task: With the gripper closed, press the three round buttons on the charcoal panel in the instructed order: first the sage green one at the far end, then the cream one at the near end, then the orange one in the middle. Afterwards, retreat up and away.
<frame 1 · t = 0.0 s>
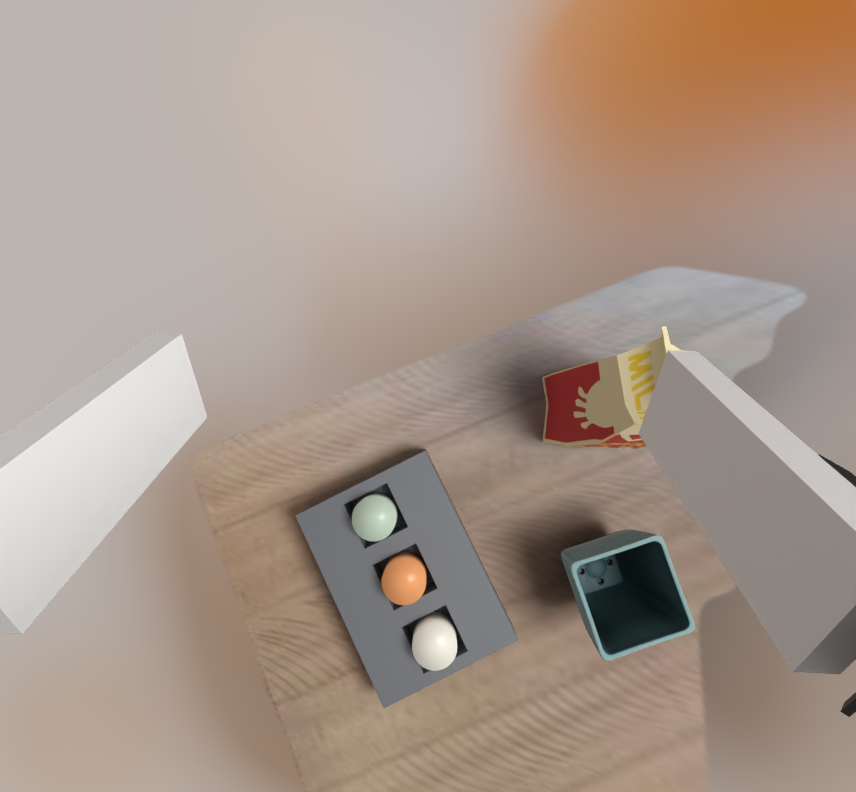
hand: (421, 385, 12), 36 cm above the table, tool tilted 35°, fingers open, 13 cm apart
sage button: (375, 516, 43), point 4 cm above the table, slide at 0.0 cm
cream button: (434, 640, 42), point 4 cm above the table, slide at 0.0 cm
flower pot: (594, 564, 46), on the table
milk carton: (582, 405, 48), on the table
orange button: (404, 577, 43), point 4 cm above the table, slide at 0.0 cm
button panel: (407, 565, 46), on the table
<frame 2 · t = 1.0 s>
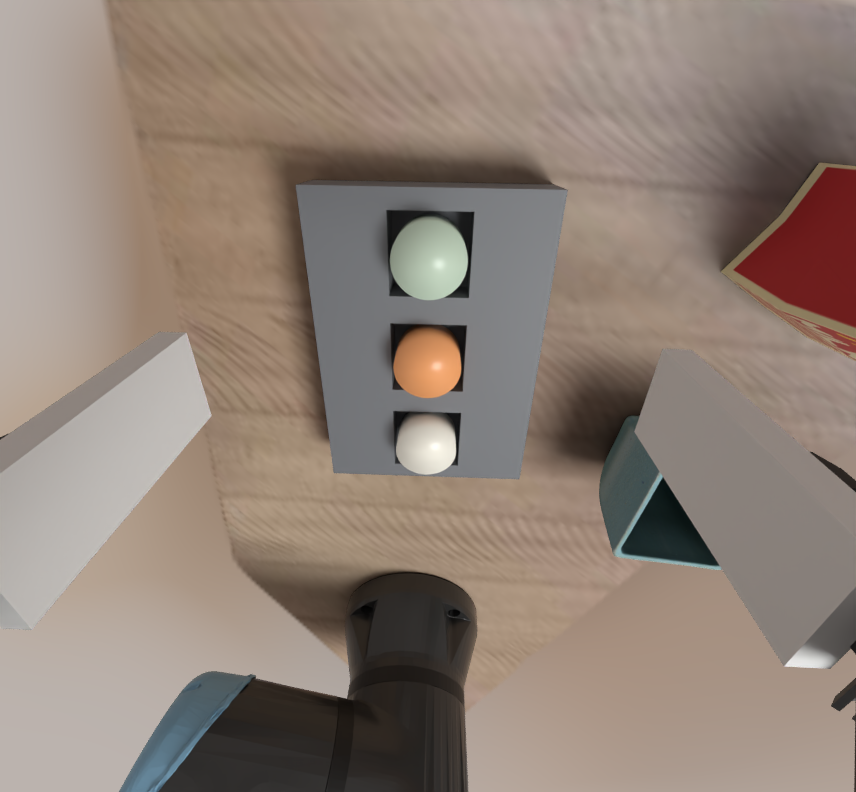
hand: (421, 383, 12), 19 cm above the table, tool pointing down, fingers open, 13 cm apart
sage button: (429, 257, 25), point 4 cm above the table, slide at 0.0 cm
cream button: (426, 440, 32), point 4 cm above the table, slide at 0.0 cm
flower pot: (643, 440, 36), on the table
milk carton: (819, 248, 28), on the table
orange button: (427, 360, 29), point 4 cm above the table, slide at 0.0 cm
button panel: (429, 338, 32), on the table
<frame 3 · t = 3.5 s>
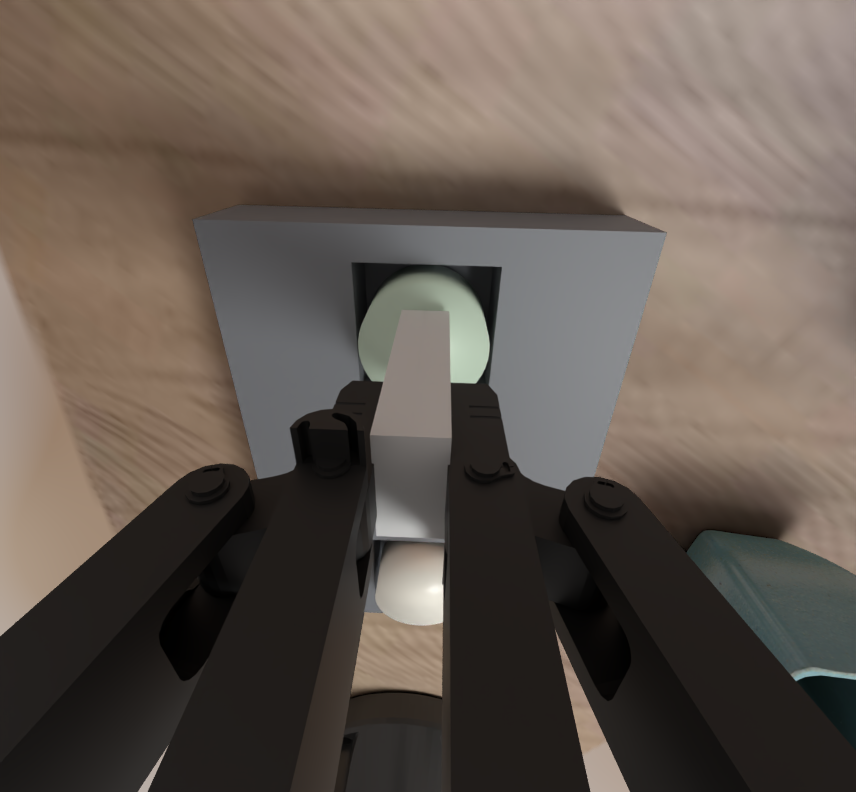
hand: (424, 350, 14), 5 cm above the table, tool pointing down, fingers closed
sage button: (425, 334, 15), point 3 cm above the table, slide at 0.2 cm, touching gripper
cream button: (420, 577, 22), point 4 cm above the table, slide at 0.0 cm
flower pot: (719, 556, 26), on the table
button panel: (425, 430, 22), on the table
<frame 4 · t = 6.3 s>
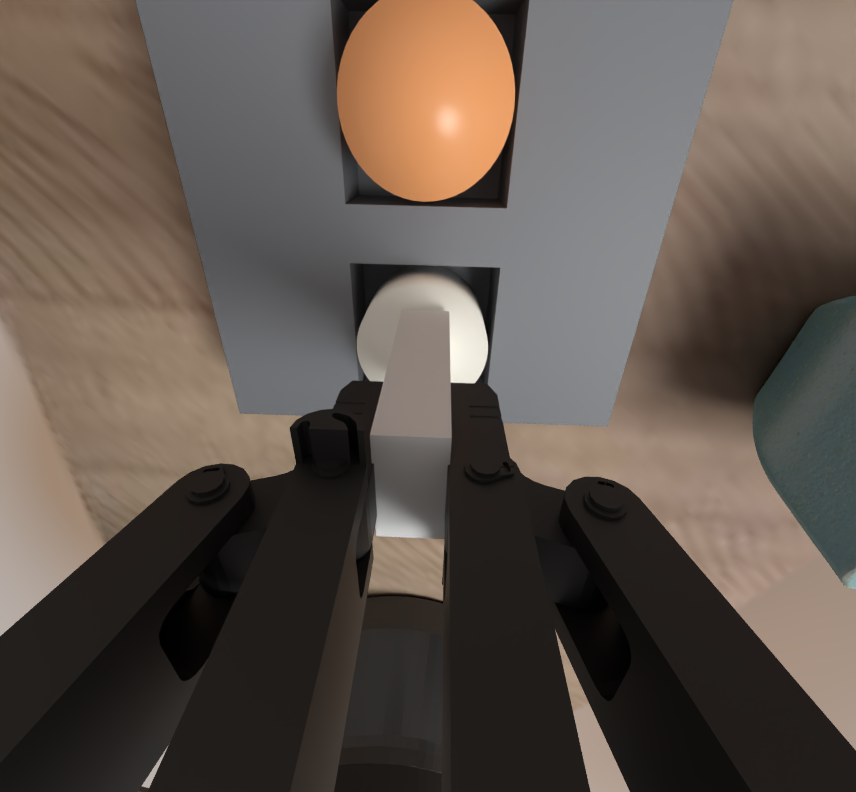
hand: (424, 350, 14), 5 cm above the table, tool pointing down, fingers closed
cream button: (423, 335, 15), point 4 cm above the table, slide at 0.2 cm, touching gripper
flower pot: (830, 360, 19), on the table
orange button: (427, 108, 12), point 4 cm above the table, slide at 0.0 cm
button panel: (430, 115, 15), on the table
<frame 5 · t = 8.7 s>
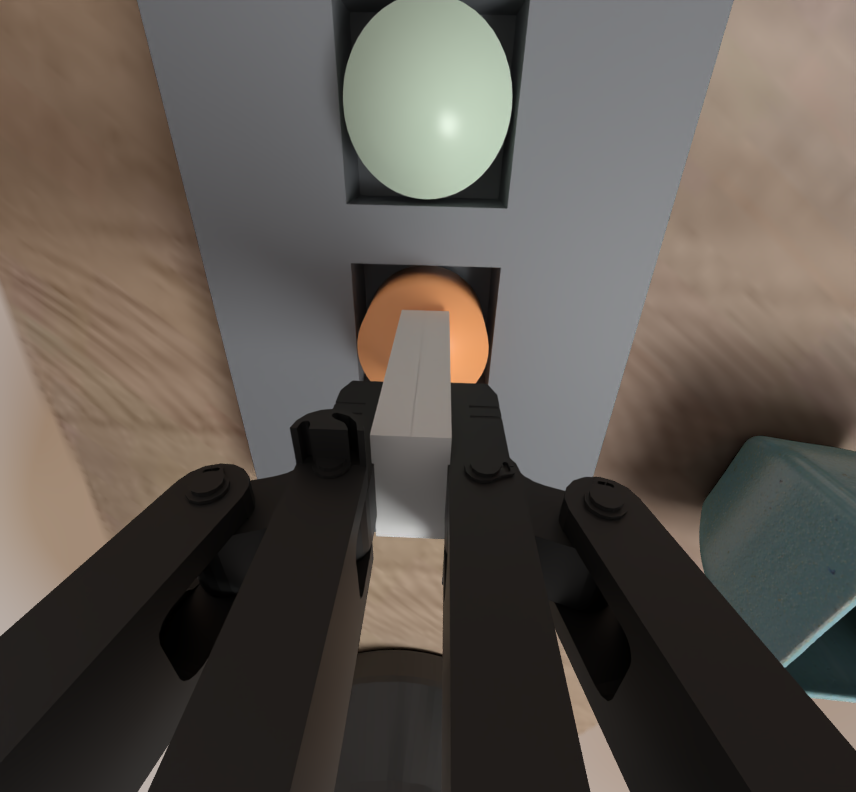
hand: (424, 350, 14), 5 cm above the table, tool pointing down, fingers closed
sage button: (428, 109, 12), point 3 cm above the table, slide at 0.6 cm
flower pot: (765, 473, 23), on the table
orange button: (424, 335, 15), point 4 cm above the table, slide at 0.2 cm, touching gripper
button panel: (427, 303, 18), on the table
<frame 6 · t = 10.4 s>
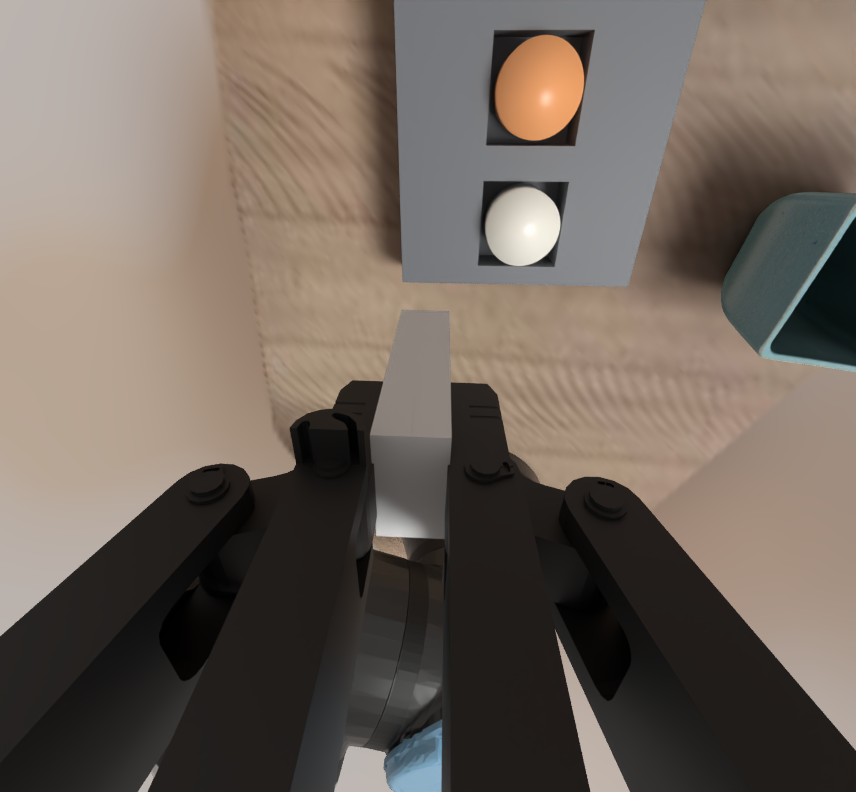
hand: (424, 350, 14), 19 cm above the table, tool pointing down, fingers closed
cream button: (520, 224, 27), point 3 cm above the table, slide at 0.6 cm
flower pot: (773, 251, 30), on the table
orange button: (535, 91, 23), point 3 cm above the table, slide at 0.6 cm
button panel: (527, 94, 25), on the table
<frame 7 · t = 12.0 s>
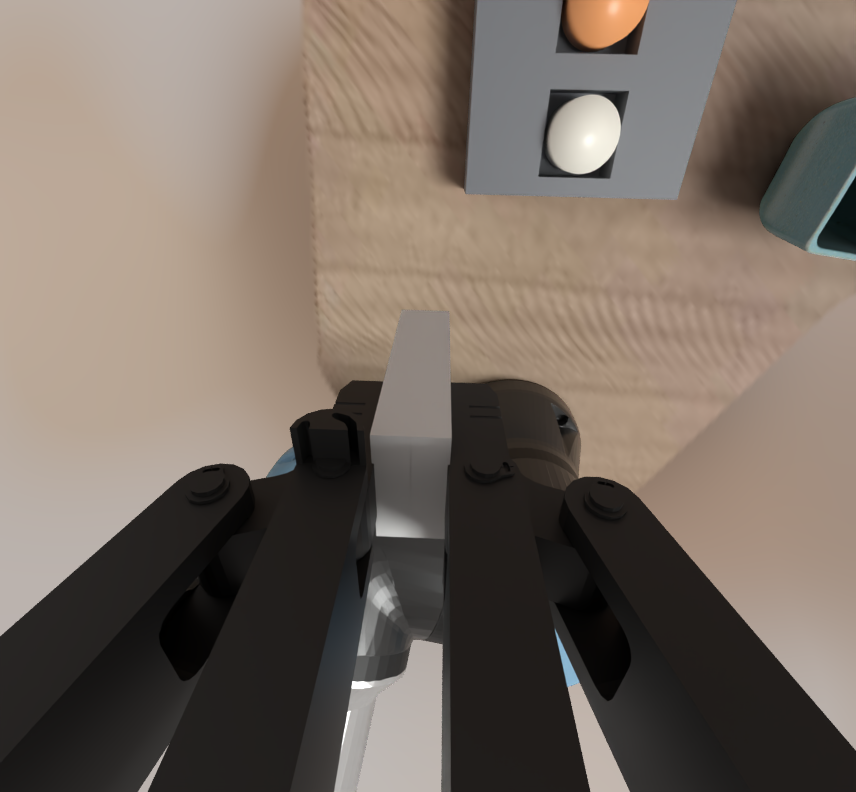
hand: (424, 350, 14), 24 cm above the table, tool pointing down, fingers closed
cream button: (580, 136, 29), point 3 cm above the table, slide at 0.6 cm
flower pot: (806, 175, 32), on the table
orange button: (604, 1, 25), point 3 cm above the table, slide at 0.6 cm
button panel: (588, 14, 28), on the table
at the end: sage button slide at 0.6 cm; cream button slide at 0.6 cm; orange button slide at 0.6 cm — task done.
